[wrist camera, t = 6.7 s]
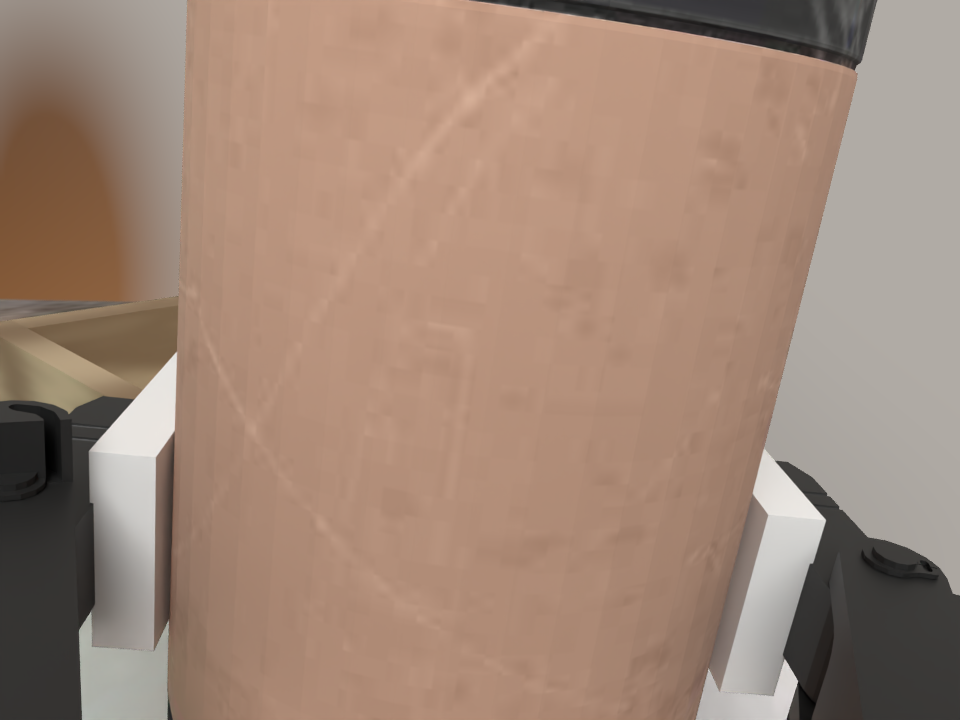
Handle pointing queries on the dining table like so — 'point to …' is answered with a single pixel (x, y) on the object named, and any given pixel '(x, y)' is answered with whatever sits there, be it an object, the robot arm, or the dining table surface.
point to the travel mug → (483, 344)
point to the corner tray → (87, 352)
